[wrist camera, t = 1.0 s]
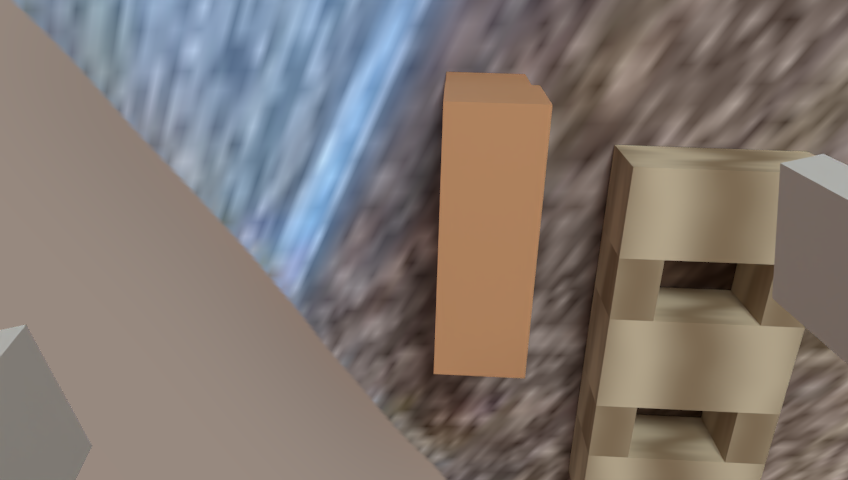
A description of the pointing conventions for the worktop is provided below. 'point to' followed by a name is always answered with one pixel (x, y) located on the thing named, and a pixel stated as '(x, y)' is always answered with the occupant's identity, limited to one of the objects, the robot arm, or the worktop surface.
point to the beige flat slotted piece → (685, 320)
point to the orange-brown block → (489, 221)
